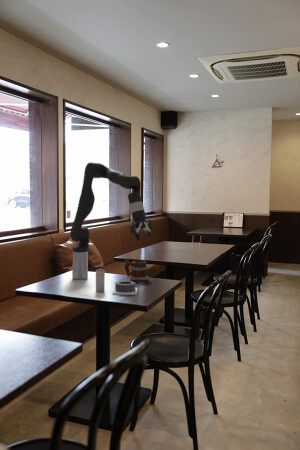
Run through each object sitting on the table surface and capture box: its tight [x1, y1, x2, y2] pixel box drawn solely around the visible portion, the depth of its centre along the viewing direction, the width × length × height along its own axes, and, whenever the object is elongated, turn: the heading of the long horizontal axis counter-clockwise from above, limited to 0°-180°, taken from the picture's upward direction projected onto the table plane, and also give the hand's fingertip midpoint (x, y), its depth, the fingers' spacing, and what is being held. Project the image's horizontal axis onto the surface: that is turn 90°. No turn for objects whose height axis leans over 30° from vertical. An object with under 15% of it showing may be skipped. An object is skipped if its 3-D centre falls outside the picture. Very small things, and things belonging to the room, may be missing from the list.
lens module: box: [95, 268, 106, 294], centre depth 229 cm, size 5×5×12 cm
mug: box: [124, 259, 149, 283], centre depth 260 cm, size 12×14×15 cm
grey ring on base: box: [112, 280, 138, 296], centre depth 229 cm, size 13×13×5 cm
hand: (144, 239), depth 225 cm, fingers open, 8 cm apart
